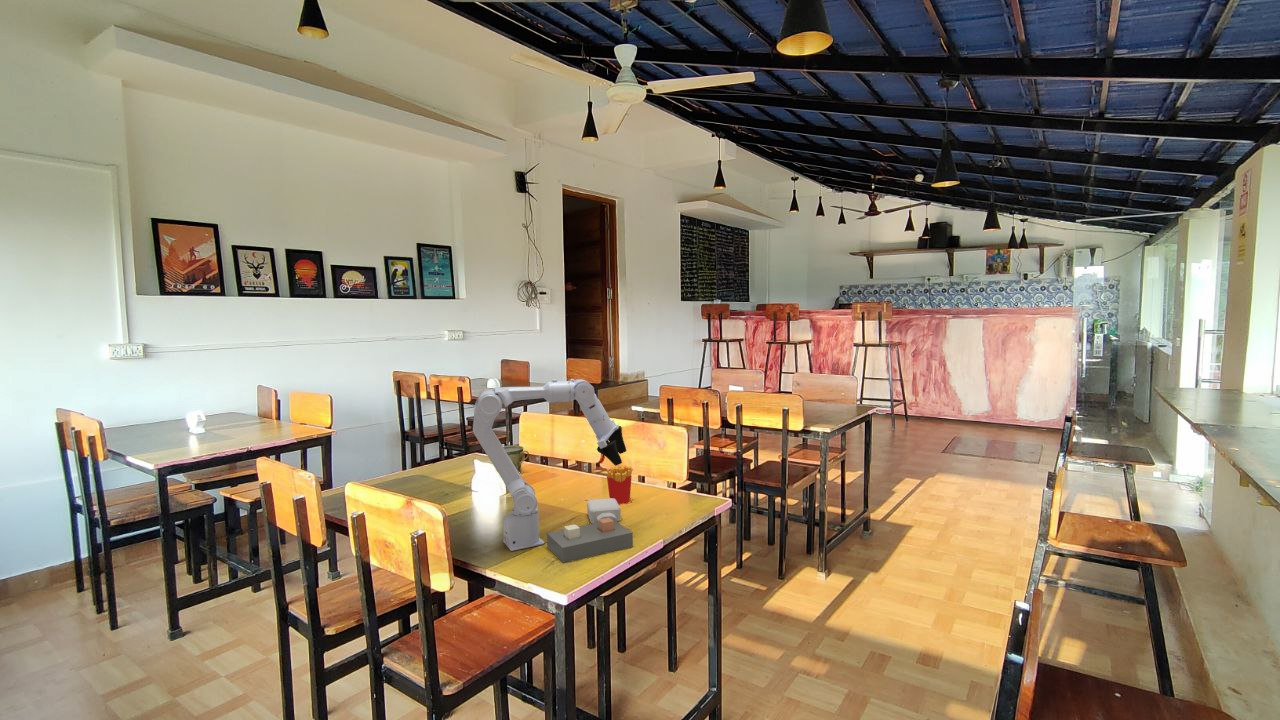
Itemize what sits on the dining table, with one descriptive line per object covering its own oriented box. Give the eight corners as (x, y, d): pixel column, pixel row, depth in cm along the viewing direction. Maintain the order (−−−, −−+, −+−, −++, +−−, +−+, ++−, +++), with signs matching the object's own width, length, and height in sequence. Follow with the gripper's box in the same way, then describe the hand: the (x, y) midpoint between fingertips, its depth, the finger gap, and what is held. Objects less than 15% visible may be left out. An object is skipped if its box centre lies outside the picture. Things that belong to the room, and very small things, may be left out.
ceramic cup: (493, 475, 240) (492, 450, 239) (507, 469, 249) (506, 444, 248) (523, 477, 236) (522, 452, 235) (535, 471, 245) (534, 446, 244)
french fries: (609, 505, 201) (608, 469, 200) (606, 501, 205) (605, 466, 204) (634, 502, 203) (633, 467, 202) (631, 498, 207) (630, 464, 206)
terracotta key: (603, 533, 166) (603, 523, 166) (598, 530, 169) (598, 519, 169) (614, 531, 168) (613, 520, 168) (609, 528, 171) (608, 517, 170)
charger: (593, 532, 178) (587, 514, 193) (624, 528, 180) (616, 512, 195) (592, 516, 178) (586, 500, 193) (623, 513, 180) (615, 497, 194)
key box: (563, 562, 157) (562, 547, 156) (547, 547, 167) (546, 532, 167) (632, 546, 166) (632, 532, 166) (613, 532, 176) (613, 519, 176)
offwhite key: (568, 541, 162) (568, 530, 161) (564, 537, 165) (564, 526, 164) (580, 538, 163) (579, 527, 163) (575, 535, 166) (575, 524, 166)
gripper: (604, 422, 165) (629, 464, 167) (614, 403, 178) (637, 442, 181) (582, 432, 167) (606, 473, 169) (594, 412, 180) (616, 451, 183)
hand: (621, 458), depth 175 cm, fingers open, 7 cm apart
